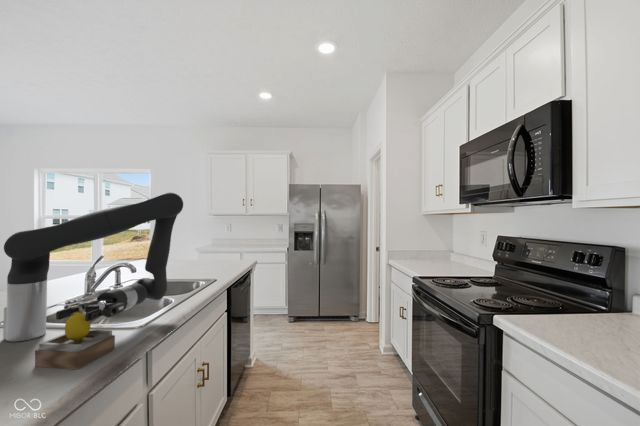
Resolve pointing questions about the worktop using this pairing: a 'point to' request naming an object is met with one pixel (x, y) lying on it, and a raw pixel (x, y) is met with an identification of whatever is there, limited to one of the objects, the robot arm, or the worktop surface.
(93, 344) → the square wooden box
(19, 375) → the worktop surface
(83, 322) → the lemon
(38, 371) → the worktop surface
